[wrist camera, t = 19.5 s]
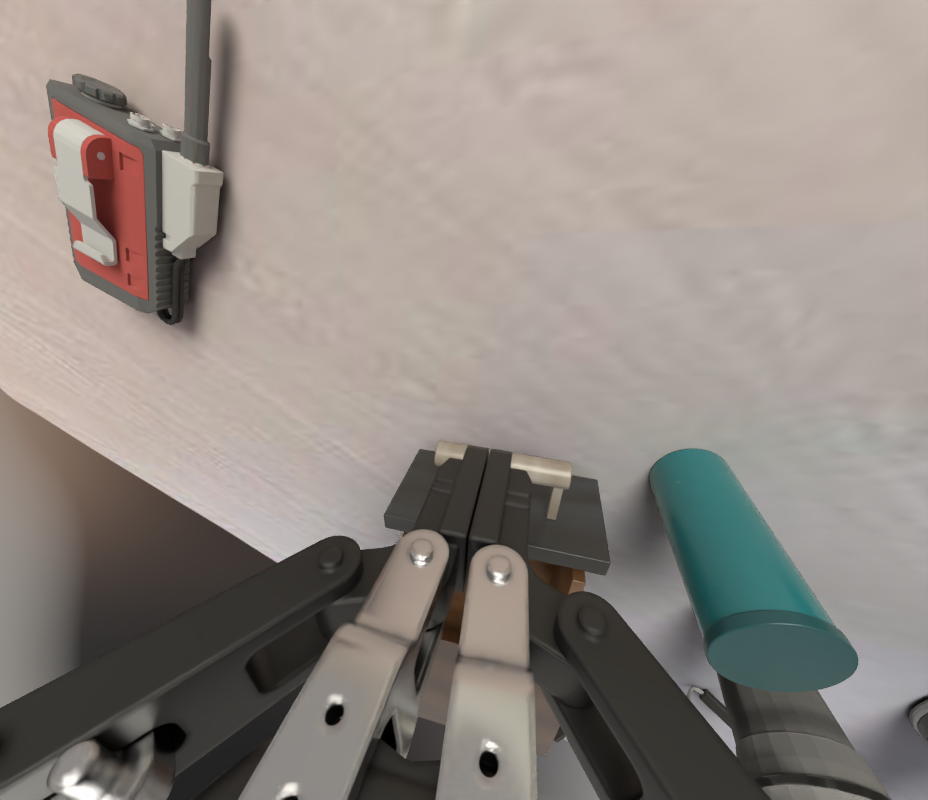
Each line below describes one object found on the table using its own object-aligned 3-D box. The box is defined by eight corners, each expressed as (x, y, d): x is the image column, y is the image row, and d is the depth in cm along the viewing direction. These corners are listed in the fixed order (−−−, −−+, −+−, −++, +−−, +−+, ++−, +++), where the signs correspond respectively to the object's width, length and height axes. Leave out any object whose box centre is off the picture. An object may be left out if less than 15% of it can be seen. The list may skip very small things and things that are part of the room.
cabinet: (420, 532, 34) (382, 624, 27) (575, 565, 31) (581, 678, 24) (423, 619, 42) (395, 709, 34) (547, 652, 39) (546, 757, 32)
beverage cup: (733, 641, 32) (940, 1146, 15) (663, 606, 31) (792, 1078, 14) (806, 606, 28) (1202, 1237, 11) (727, 567, 28) (1003, 1146, 11)
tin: (660, 441, 24) (736, 611, 14) (745, 454, 23) (891, 646, 13) (638, 496, 26) (689, 672, 16) (713, 509, 25) (815, 704, 15)
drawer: (417, 402, 25) (377, 461, 19) (612, 431, 23) (632, 508, 17) (423, 563, 35) (397, 636, 29) (561, 595, 32) (563, 682, 27)
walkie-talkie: (215, 334, 28) (244, 2, 17) (163, 354, 24) (158, -54, 13) (114, 277, 27) (80, -101, 17) (44, 289, 23) (-59, -190, 13)
